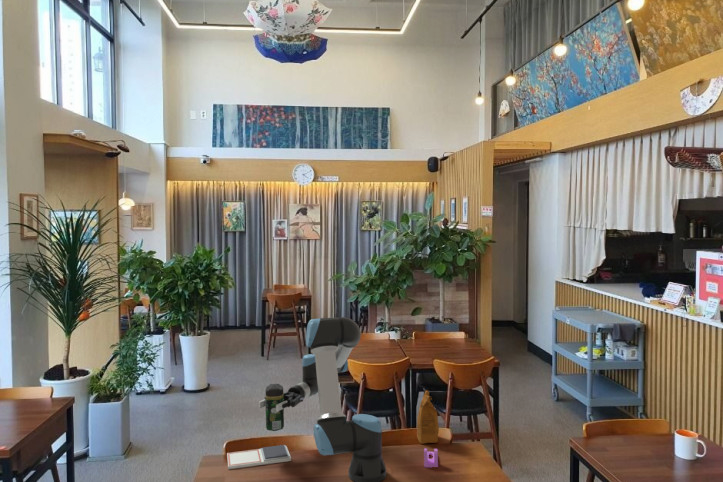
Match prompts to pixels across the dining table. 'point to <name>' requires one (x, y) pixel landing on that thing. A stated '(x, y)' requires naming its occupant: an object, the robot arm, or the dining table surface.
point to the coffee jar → (274, 407)
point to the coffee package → (427, 421)
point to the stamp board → (250, 459)
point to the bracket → (428, 461)
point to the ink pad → (274, 452)
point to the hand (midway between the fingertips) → (267, 406)
